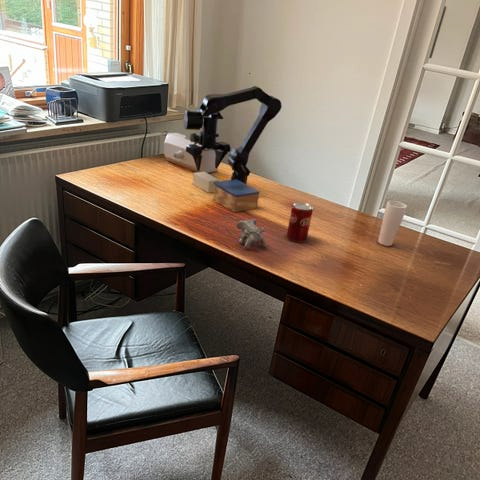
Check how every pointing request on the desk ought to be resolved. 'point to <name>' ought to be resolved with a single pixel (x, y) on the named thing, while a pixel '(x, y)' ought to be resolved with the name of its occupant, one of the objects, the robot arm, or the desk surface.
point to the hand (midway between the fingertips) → (207, 169)
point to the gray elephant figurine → (250, 232)
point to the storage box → (235, 200)
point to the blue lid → (236, 188)
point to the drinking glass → (391, 222)
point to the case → (204, 181)
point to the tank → (187, 154)
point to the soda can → (299, 222)
